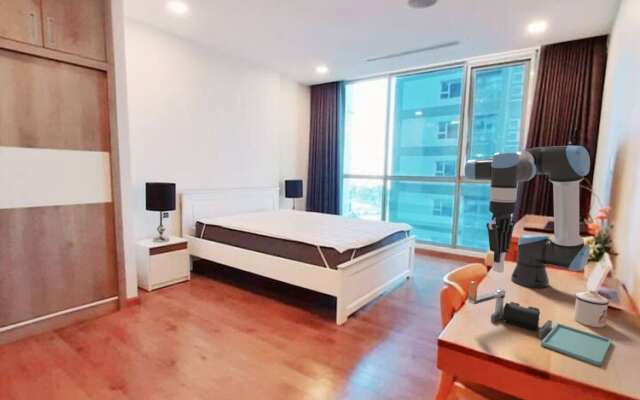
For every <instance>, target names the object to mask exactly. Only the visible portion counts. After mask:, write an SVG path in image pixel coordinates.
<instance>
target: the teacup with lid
mask: <svg viewBox="0 0 640 400" xmlns="http://www.w3.org/2000/svg"><path fill="white" fill-rule="evenodd" d="M609 303H610V301H609V300H608V299H607V298H606V297H605V296H602V295H600V294H599V293H597V291H596V289H589V290H588V291H585V292H583V291H582V292H576V294H575V304H574V305H575V306H574V316H573V317H574V320H575V321H576V322H577V323H580V324H581V325H584V326H587V327H591V328H604V327H606V324H607V315H608V305H609Z"/></svg>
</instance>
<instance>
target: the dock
mask: <svg viewBox="0 0 640 400" xmlns="http://www.w3.org/2000/svg"><path fill="white" fill-rule="evenodd" d="M504 299H505V298H499V297H498V298H495V305H494V306H495V307H494V312H493V313H492V314H491V317H490V323H495V322H497V321H498V320H502V319H503V312H504V307H505V306H504ZM552 323H553V321H552V320H550V319H548V320H546V321H545V323H544V324H543V325H542V326H541V327H540V328H538V333H537V334H538V335H537V338H538V339H541V340H543V339H544V338H545V337H546V336H547V335H548V333H549V332H550V331H551V330H552Z"/></svg>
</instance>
